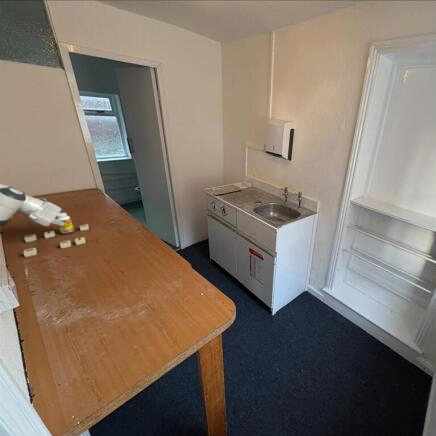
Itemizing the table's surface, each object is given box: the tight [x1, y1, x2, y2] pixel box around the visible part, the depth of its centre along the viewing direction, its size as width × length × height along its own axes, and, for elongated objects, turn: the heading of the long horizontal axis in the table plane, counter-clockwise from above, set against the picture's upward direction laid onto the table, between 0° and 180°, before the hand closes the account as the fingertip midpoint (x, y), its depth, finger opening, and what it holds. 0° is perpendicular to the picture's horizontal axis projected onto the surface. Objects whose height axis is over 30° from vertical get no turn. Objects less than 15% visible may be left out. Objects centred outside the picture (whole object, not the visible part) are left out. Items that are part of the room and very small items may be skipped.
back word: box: [24, 223, 90, 243], centre depth 124 cm, size 25×5×2 cm, turn 132°
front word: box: [23, 236, 87, 258], centre depth 112 cm, size 21×4×2 cm, turn 132°
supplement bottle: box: [55, 212, 75, 234], centre depth 125 cm, size 6×6×10 cm
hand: (65, 222), depth 125 cm, fingers closed on supplement bottle, 5 cm apart
